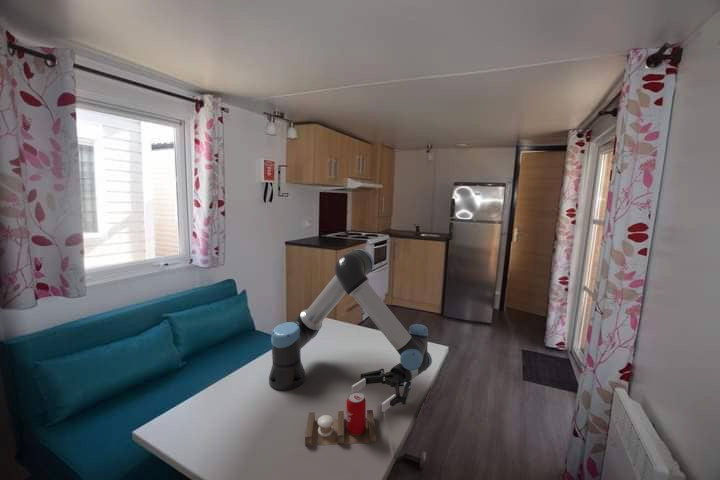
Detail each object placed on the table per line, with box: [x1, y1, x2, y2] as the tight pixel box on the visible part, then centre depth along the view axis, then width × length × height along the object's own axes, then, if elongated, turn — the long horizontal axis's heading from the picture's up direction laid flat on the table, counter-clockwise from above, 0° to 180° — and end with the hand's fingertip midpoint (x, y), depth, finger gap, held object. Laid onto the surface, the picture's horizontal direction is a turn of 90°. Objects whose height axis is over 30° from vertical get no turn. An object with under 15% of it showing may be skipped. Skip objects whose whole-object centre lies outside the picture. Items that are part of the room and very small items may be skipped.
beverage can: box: [346, 391, 367, 435], centre depth 102 cm, size 6×6×12 cm
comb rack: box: [304, 409, 377, 447], centre depth 102 cm, size 22×11×4 cm, turn 93°
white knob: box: [317, 414, 334, 437], centre depth 101 cm, size 5×5×4 cm
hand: (366, 398), depth 104 cm, fingers open, 13 cm apart
